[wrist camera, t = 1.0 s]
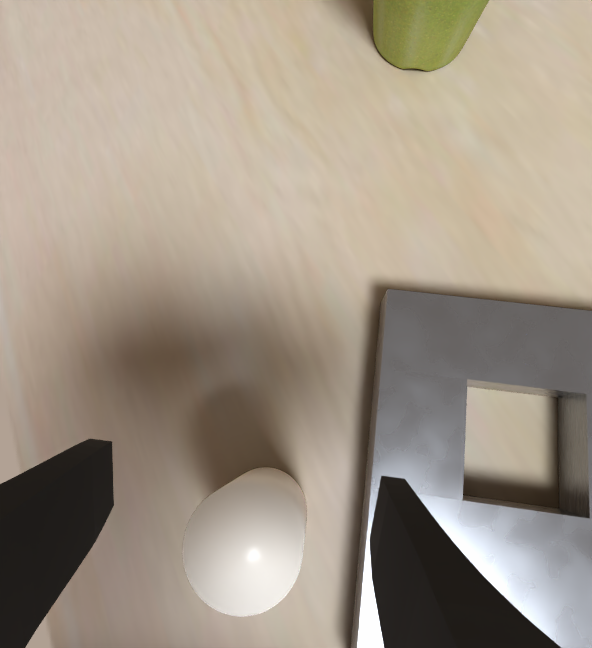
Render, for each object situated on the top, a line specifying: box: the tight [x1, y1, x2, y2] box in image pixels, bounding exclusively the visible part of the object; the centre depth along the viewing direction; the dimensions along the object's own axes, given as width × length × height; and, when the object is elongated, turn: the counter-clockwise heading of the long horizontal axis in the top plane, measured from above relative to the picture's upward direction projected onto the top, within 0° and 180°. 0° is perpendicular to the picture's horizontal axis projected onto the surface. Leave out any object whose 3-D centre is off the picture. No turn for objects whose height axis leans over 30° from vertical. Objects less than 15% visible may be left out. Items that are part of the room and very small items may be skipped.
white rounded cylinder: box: [183, 467, 307, 617], centre depth 19 cm, size 4×4×7 cm
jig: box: [350, 289, 592, 648], centre depth 21 cm, size 18×14×2 cm
